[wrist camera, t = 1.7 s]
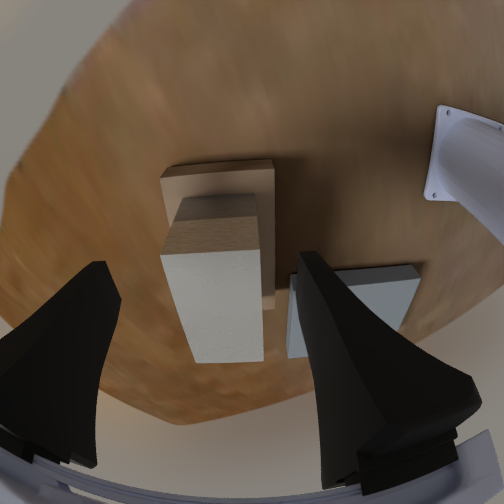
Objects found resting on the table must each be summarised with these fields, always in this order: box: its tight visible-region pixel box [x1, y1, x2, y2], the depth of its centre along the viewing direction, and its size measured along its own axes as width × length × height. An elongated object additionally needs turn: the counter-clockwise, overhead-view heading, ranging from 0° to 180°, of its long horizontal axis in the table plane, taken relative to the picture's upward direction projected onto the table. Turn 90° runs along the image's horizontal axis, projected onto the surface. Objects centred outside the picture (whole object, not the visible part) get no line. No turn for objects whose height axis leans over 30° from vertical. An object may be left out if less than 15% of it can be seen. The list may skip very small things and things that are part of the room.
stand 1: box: [160, 159, 275, 310], centre depth 21 cm, size 7×12×2 cm, turn 3°
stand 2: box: [286, 265, 421, 358], centre depth 26 cm, size 12×10×2 cm
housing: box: [160, 193, 264, 363], centre depth 17 cm, size 4×9×6 cm, turn 3°
